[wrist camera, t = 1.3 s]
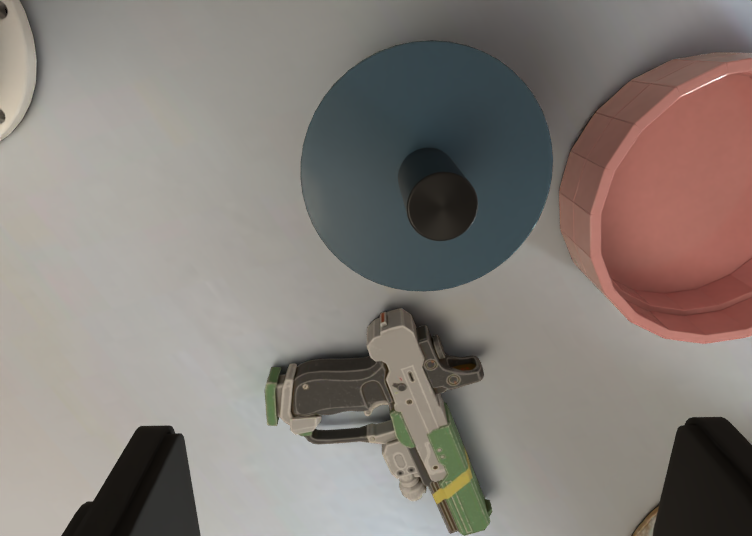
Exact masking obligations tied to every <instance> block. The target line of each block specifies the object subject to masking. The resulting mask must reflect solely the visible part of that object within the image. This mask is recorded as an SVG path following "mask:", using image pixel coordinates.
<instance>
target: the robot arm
mask: <svg viewBox="0 0 752 536" xmlns="http://www.w3.org/2000/svg"><path fill="white" fill-rule="evenodd" d="M5 7H7V11H8V13H7V14H6V12H5ZM36 67H37V58H36V51H35V45H34V38H33V34H32V31H31V28H30V25H29V22H28V19H27V16H26V12H25V10H24V9H23V7H22V5H21V3H20V1H19V0H0V141H1V140H3V139H4V138H5V137H7V136H8V135H10V133H11V132H12V131H13V130H14V129H15V128H16V126H17V125H18V124H19V123H20V122H21V121H22V119H23V117H24V115H25V113H26V111H27V109H28V107H29V105H30V103H31V100H32V96H33V92H34V88H35V84H36ZM3 112H4V114H5V116H4V115H3ZM62 536H200V530H199V524H198V518H197V512H196V506H195V500H194V494H193V488H192V482H191V476H190V470H189V464H188V458H187V452H186V446H185V440H184V436H183V435H182V434H181V433H178V434H175V432H174V429H173V427H172V426H140V427H138V428H137V430H136V431H135V433H134V434H133V436H132V438H131V439H130V441H129V443H128V444H127V446H126V448H125V449H124V451H123V453H122V454H121V456H120V458H119V459H118V461H117V463H116V464H115V466H114V468H113V469H112V471H111V473H110V474H109V476H108V478H107V479H106V481H105V483H104V484H103V486H102V488H101V489H100V491H99V493H98V494H97V496H96V498H95V499H94V501H93V502H86V503H85V504H83V505H82V506H81V507H80V508H79V509H78V511H77V512H76V513H75V515H74V517H73V518H72V520H71V521H70V523H69V525H68V526H67V528H66V529H65V531H64V533H63V534H62ZM653 536H752V445H751V444H750V443H749V442H748V441H747V439H746V438H745V437H744V436H743V435H742V434H741V433H740V432H739V431H738V430H737V429H736V428H735V427H734V426H733V425H732V424H731V423H730V422H729V421H728V420H726V419H725V418H722V417H692V418H689V419H688V420H687V421H686V423H685V425H683V426H680V427H679V428H678V430H677V432H676V436H675V441H674V445H673V449H672V453H671V457H670V461H669V466H668V470H667V474H666V478H665V482H664V487H663V491H662V495H661V499H660V503H659V508H658V512H657V516H656V520H655V524H654V528H653Z"/></svg>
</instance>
